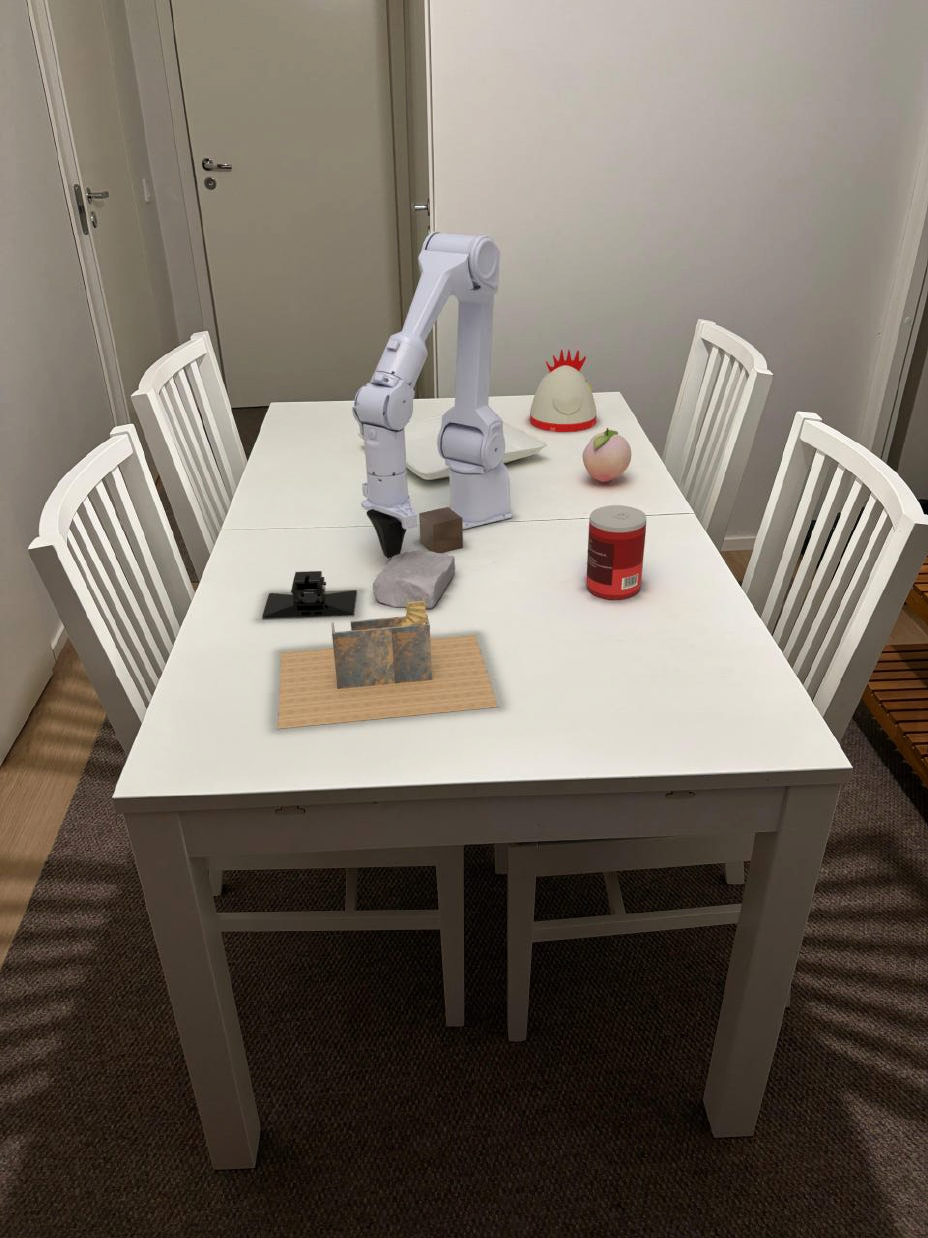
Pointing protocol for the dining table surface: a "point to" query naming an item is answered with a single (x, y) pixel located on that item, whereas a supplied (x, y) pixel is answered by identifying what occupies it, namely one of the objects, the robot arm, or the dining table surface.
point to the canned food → (615, 551)
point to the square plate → (432, 466)
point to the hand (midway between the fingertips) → (392, 555)
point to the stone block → (414, 578)
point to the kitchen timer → (564, 398)
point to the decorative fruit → (607, 456)
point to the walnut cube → (441, 530)
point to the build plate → (310, 599)
